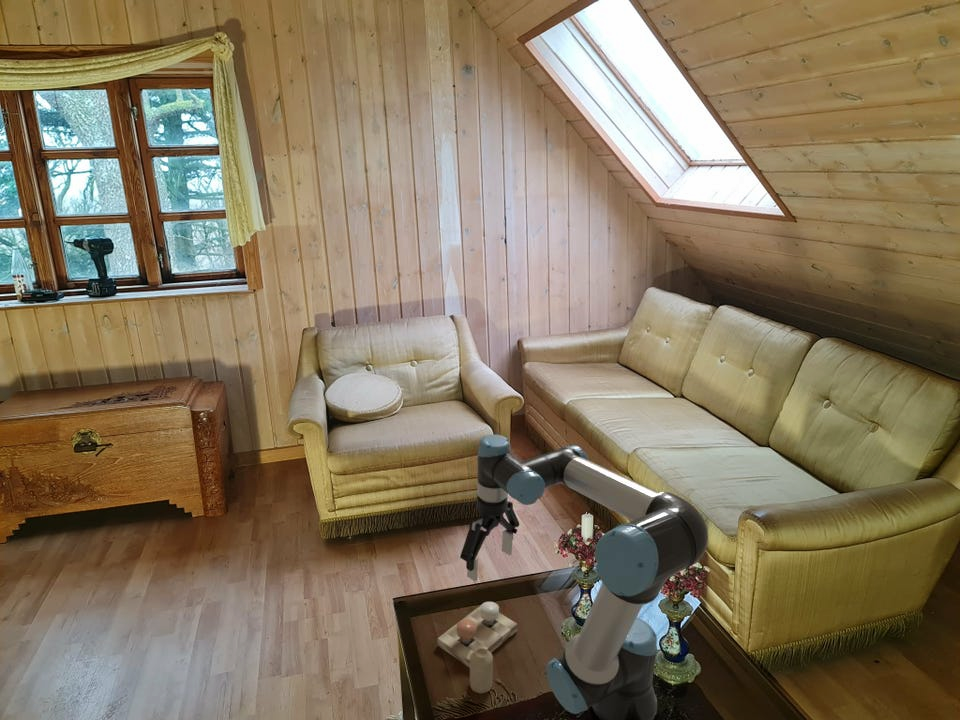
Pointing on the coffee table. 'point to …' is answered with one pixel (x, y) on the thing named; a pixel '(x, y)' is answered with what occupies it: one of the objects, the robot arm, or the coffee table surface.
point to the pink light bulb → (466, 630)
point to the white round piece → (489, 612)
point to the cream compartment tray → (477, 636)
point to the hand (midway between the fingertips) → (489, 565)
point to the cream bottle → (481, 670)
